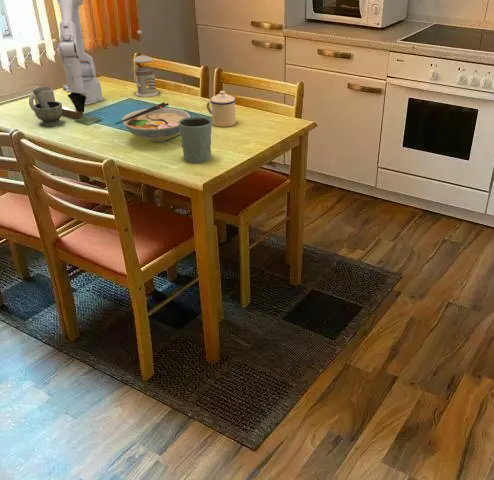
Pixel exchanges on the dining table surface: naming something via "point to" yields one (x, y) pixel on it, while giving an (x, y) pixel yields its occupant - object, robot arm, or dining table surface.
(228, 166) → the dining table surface
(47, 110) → the mortar and pestle
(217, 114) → the teacup with lid
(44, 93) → the cup
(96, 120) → the spatula
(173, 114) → the ramen bowl
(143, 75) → the french press
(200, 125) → the grey embossed tumbler
